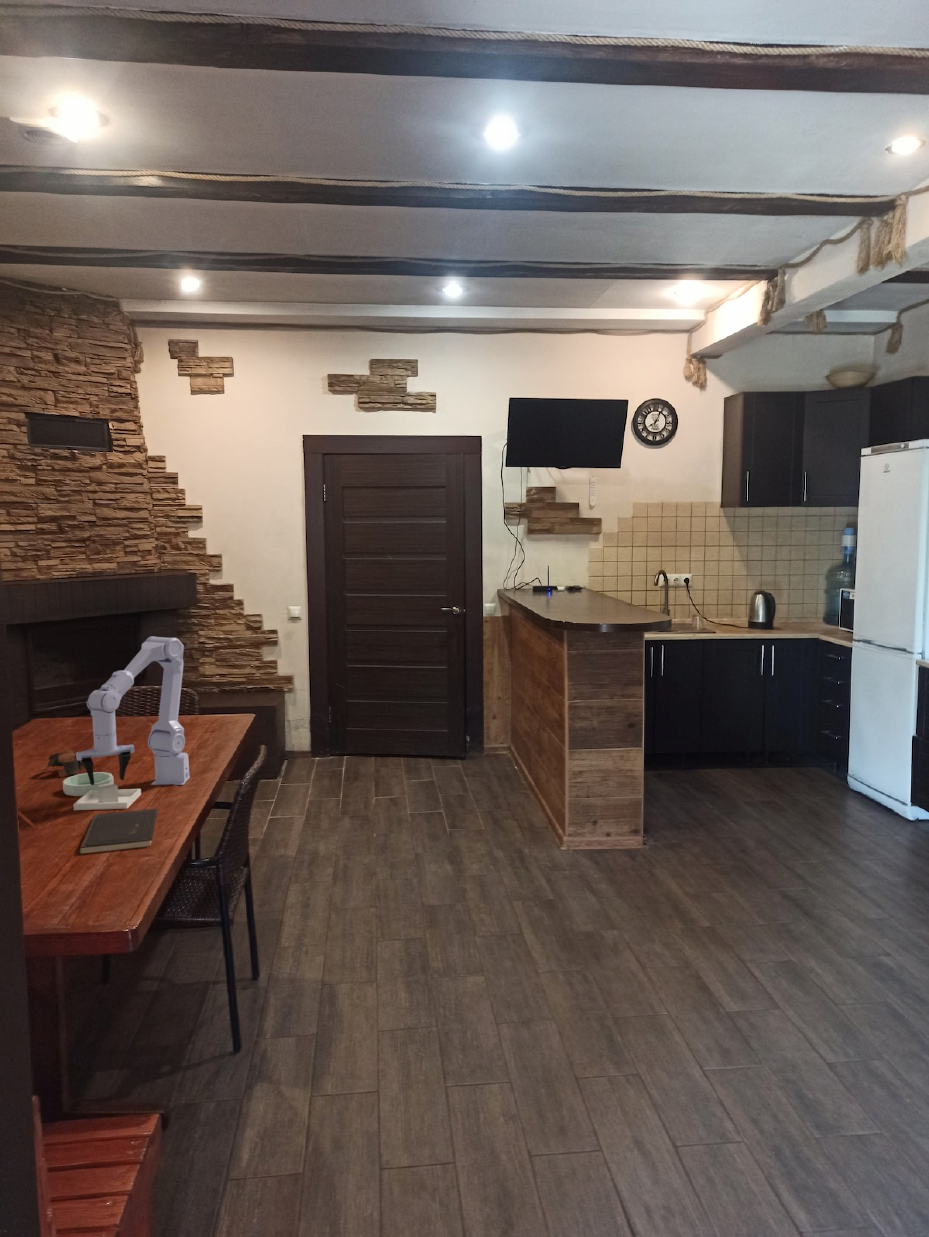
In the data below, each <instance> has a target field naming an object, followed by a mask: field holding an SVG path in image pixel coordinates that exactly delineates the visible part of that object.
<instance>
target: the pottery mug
mask: <svg viewBox="0 0 929 1237" xmlns="http://www.w3.org/2000/svg"><path fill="white" fill-rule="evenodd" d="M74 752H75V751H74V750H72V749H68V750H64V751H59V752H56V753H54V754H51V755H50V756H49V757H48V763H47V768H49V767H63V768H62V769H59V770H58V771H57V772H58V776H59V778H60V777H61V778H64V777H67V776H71V775H73V776H75V775H78V774H80V773H79V772H80V771H81V770H83V767H84V765H83V763H82V762H81V760H80V761H78V760H77V758H76V753H74Z"/></svg>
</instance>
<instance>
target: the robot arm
mask: <svg viewBox="0 0 929 1237" xmlns="http://www.w3.org/2000/svg"><path fill="white" fill-rule="evenodd" d="M184 649H185V646H184V644H183V643H182V641H181V640H180V639H179V638H177V637H163V636H161V637H160V636H154V635H153V636H149V637H148V638H146V640H145V641H144V642H142V644H141V649H140V651H139V652H138V653H137V654H136V655H135V656H134V657H133V658H132V659H131V661H130V662H129V663H128V664H127V665H126V667H125V668H124V669H123V670H116V671H114V672H113V673H112V674H111V677H110V678H109V679H108V680H106V682H105V683H104V684H102V685H101V687H100V688H99V689H95V690H93V691H92V692H91V693H90V694H89V696H88V698H87V701H85V702H86V706H87V708H88V709H89V710H90V716H91V717H92V732H93V736H92V737H93V748H91V749H87V750H83V751H77V752H76V753H75V754H76V758H77V760H78V761H80V760H81V763H83V765H84V766H83V767H84V769H85V771H86V773H87V774H88V776H89V780H90V784H91V785H94V776H93V772H94V761H93V759H94V758H95V759H97V758H101V757H110V756H117V755H118V763H119V772H118V773H119V780H120V781H124V780H125V775H126V771H127V767H128V765H129V763H130V760H131V759H132V755H131V754H133V753H135V745H133V744H127V745H125V744H124V745H118V743H117V725H116V724H117V722H116V710H117V709H119V706H120V703H121V700H122V698H123V696H124V695H125V694H126V693H127V692H128V691H129V689H130V688H131V687H133V686H134V683H135V678H136V677H137V676H138V675H139V674H140V673H141V672H142V671H143V670H144V669H145V668H146V667H147V666H148V665H150V664H151V663H152V662H157V663H159V665H160V666H161V667H162V668H163V675H162V683H161V684H162V685H161V694H160V703H159V712H158V719H157V721H156V722H155V723H154V724H153V725H151V729H150V734H149V735H148V738H147V746H148V748H149V749H150V750H151V751H152V752H151V753H152V754H154V758H153V759H154V774H155V775H154V776H155V780H153V781H152V783H151V784H150V785H152V786H155V785H157V786H158V785H159V786H160V785H174V786H182V785H183V786H184V785H185V783H186V782H188V780H189V779H190V777H191V776H190V763H189V762H190V761H189V759H190V758H189V755H188V753H187V752H182V751H183V750H184V748H185V746H186V745H185V744H186V738H185V728H184V727H183V726H182V725H181V723H180V722H179V711H180V704H181V701H180V700H181V693H182V692H181V691H182V682H183V673H184V666H185V665H184V659H183V657H184V651H185V650H184ZM76 758H75V759H76Z"/></svg>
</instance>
